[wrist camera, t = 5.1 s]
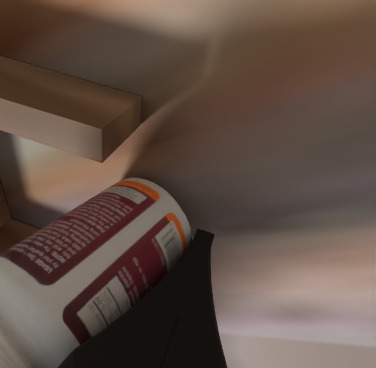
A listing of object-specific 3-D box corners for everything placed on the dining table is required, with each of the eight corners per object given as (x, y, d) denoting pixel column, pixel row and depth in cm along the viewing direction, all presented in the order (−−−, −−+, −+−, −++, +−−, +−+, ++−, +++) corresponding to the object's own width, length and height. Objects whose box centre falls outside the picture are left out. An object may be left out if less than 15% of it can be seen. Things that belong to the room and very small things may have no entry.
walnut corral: (128, 272, 17) (104, 317, 15) (-1, 225, 18) (-43, 261, 16) (142, 96, 11) (101, 129, 8) (-67, 36, 12) (-156, 50, 9)
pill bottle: (104, 209, 15) (-94, 341, 9) (135, 154, 12) (-140, 301, 6) (165, 274, 15) (2, 459, 9) (215, 236, 11) (11, 489, 5)
